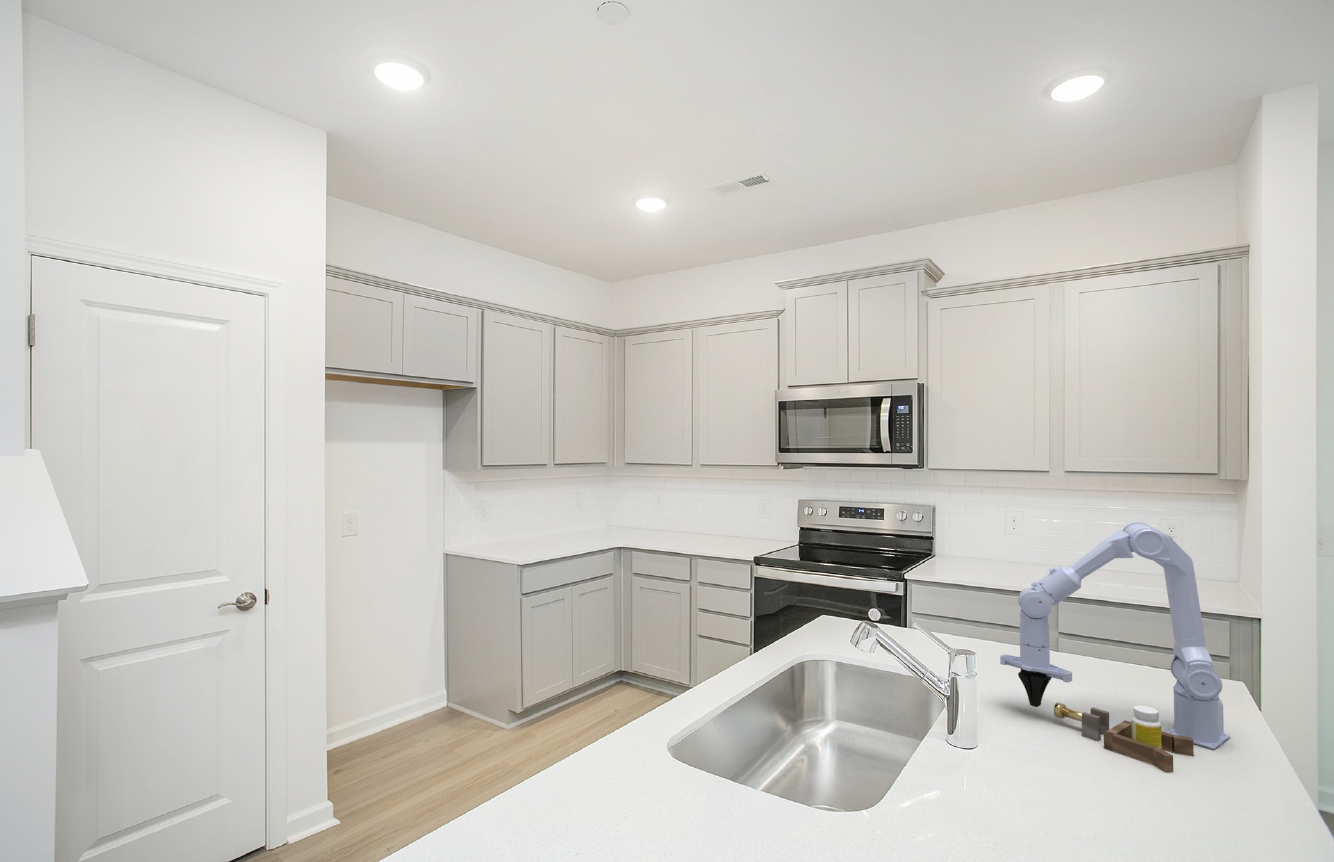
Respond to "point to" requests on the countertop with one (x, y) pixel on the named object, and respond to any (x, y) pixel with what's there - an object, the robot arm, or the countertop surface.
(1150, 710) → the supplement bottle
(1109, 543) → the robot arm
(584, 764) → the countertop surface
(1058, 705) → the lock pin
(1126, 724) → the dock
